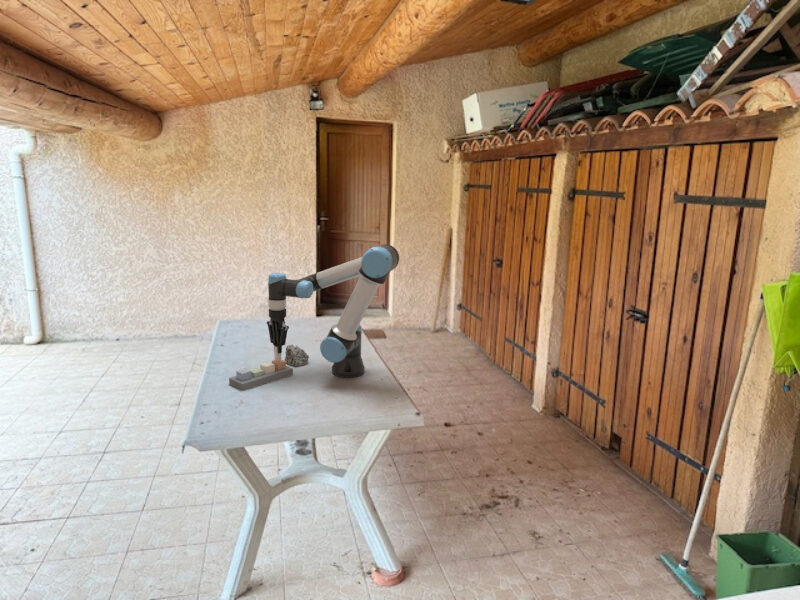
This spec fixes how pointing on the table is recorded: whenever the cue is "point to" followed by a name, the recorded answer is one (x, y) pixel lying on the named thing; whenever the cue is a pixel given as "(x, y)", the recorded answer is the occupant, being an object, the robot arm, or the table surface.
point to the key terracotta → (279, 364)
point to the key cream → (267, 367)
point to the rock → (296, 356)
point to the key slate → (243, 375)
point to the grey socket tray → (260, 379)
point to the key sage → (256, 372)
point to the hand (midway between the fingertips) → (278, 359)
